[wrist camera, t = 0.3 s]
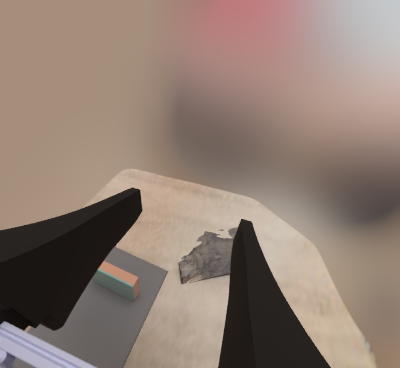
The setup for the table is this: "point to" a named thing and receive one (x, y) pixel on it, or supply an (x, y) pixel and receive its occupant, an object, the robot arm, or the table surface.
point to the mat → (105, 317)
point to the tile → (117, 280)
